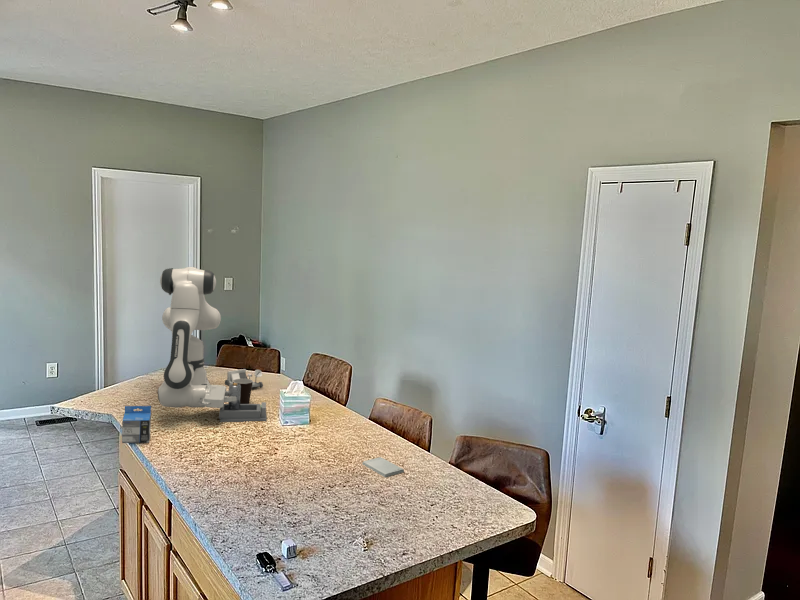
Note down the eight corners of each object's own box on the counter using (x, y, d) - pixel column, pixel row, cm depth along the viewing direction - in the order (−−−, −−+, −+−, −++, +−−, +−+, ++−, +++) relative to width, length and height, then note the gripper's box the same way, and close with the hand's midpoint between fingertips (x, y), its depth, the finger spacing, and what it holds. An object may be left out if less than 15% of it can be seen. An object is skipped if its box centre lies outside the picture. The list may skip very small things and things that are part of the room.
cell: (228, 410, 236) (229, 381, 235) (239, 410, 238) (241, 382, 236) (227, 413, 232) (228, 384, 231) (239, 413, 233) (240, 384, 232)
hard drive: (404, 469, 192) (381, 456, 201) (385, 474, 187) (362, 461, 196) (403, 473, 192) (380, 460, 202) (384, 479, 187) (362, 465, 196)
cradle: (220, 412, 240) (221, 400, 239) (266, 412, 244) (266, 400, 244) (218, 421, 228) (219, 409, 227) (266, 421, 232) (266, 409, 232)
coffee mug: (248, 406, 250) (249, 384, 249) (229, 405, 250) (230, 382, 249) (255, 399, 262) (256, 377, 261) (237, 397, 262) (238, 376, 261)
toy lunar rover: (267, 369, 279) (247, 373, 270) (266, 389, 280) (246, 393, 271) (245, 362, 291) (225, 365, 282) (244, 381, 292) (224, 385, 283)
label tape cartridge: (121, 443, 199) (121, 409, 198) (123, 439, 203) (124, 405, 202) (148, 442, 202) (149, 408, 200) (150, 439, 205) (151, 405, 204)
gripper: (198, 395, 221) (236, 396, 224) (203, 382, 240) (238, 382, 244) (198, 411, 221) (235, 411, 225) (203, 396, 241) (237, 397, 244)
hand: (236, 396), depth 234 cm, fingers closed on cell, 5 cm apart
